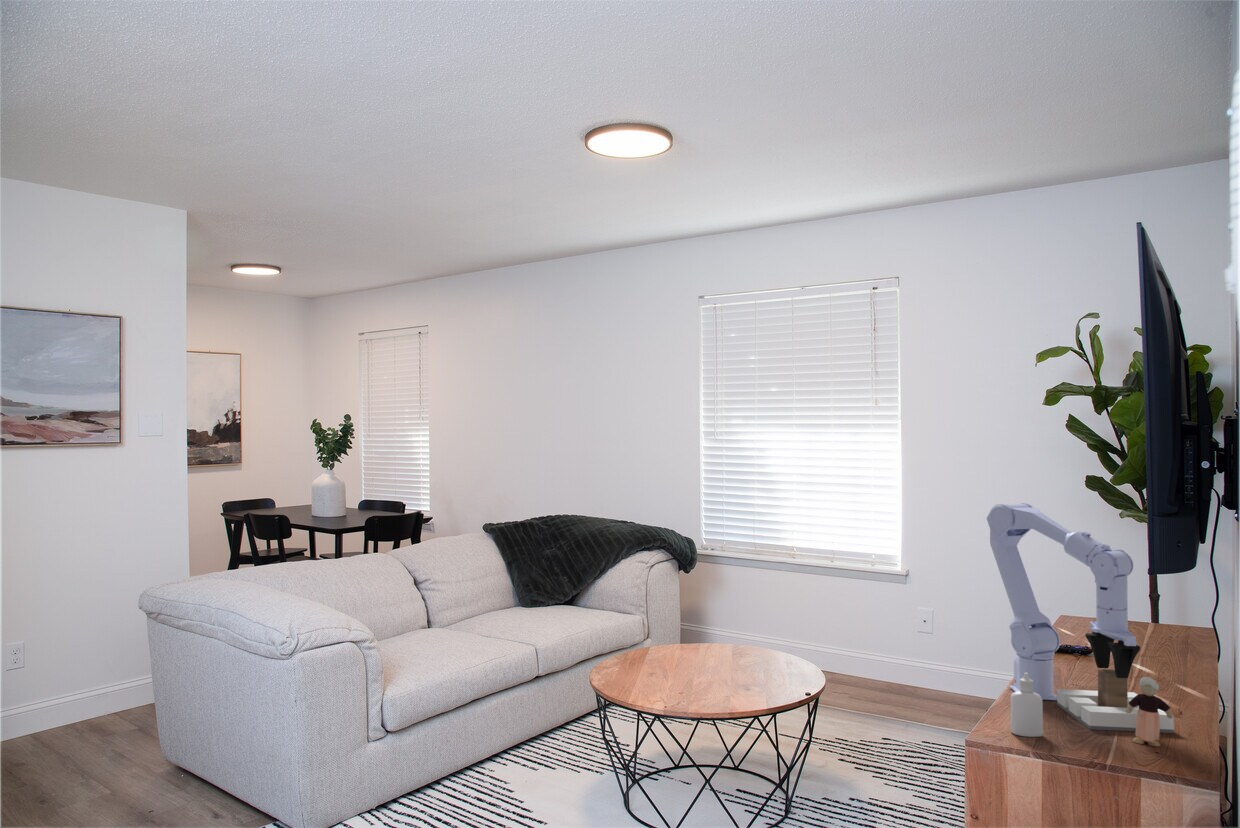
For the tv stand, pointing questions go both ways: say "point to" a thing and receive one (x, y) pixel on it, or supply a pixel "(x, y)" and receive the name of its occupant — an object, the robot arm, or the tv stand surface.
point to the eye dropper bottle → (1026, 710)
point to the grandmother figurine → (1148, 712)
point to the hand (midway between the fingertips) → (1112, 672)
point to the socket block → (1104, 712)
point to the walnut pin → (1111, 689)
